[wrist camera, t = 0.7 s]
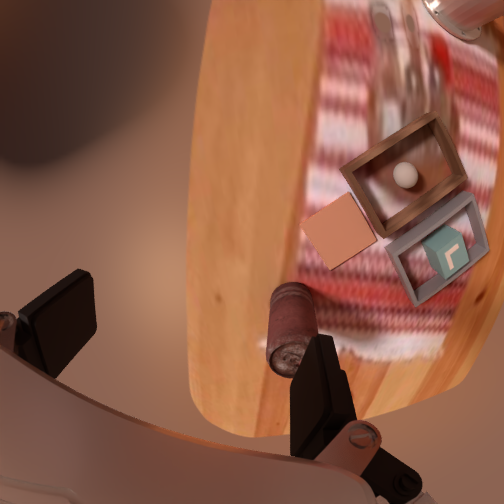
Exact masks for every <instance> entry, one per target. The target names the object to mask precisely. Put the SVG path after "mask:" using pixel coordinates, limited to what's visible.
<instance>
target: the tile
mask: <svg viewBox="0 0 504 504" xmlns="http://www.w3.org/2000/svg"><path fill="white" fill-rule="evenodd" d="M299 225H300V226H301V228H302V229H303V231H304V232H305V234H306V235H307V237H308V238H309V240H310V241H311V243H312V244H313V246H314V247H315V249H316V250H317V252H318V253H319V255H320V256H321V258H322V259H323V261H324V262H325V264H326V265H327V267H328V269H329V270H331V269H333V268H335V267H336V266H338V265H339V264H341V263H343V262H344V261H346V260H347V259H349V258H350V257H352V256H354V255H355V254H357V253H358V252H360V251H361V250H363V249H364V248H366V247H367V246H369V245H370V244H372V243H373V242H375V241H376V238H375V236H374V235H373V233H372V231H371V229H370V227H369V225H368V224H367V222H366V220H365V218H364V217H363V215H362V213H361V211H360V210H359V208H358V206H357V205H356V203H355V201H354V200H353V198H352V196H351V195H350V193H349V192H347V193H345V194H344V195H342V196H341V197H339V198H338V199H336V200H335V201H333V202H332V203H330V204H329V205H327V206H326V207H324V208H323V209H321V210H320V211H318V212H317V213H315V214H314V215H312V216H310V217H309V218H307V219H306V220H304V221H303V222H301V223H300V224H299Z"/></svg>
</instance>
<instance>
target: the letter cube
mask: <svg viewBox="0 0 504 504" xmlns="http://www.w3.org/2000/svg"><path fill="white" fill-rule="evenodd" d="M421 243H422V245H423V247H424V250H425V252H426V255H427V257H428V260H429V263H430V265H431V267H432V268H433V269H434V270H435V271H437V272H438V273H439V274H440V275H441V276H442V277H443V278H444V279H445V280H446V279H447V278H448V277H450V276H451V275H452V274H454V273H455V272H456V271H457V270H459V269H460V268H461V267H462V266H464V265H465V264H466V263H467V262H469V258H468V254H467V251H466V247H465V244H464V241H463V237H462V234H461V233H460V232H458V231H457V230H455V229H453V228H451V227H449V226H447V225H445V224H443V225H442V226H441V227H439V228H438V229H437V230H435V231H434V232H433V233H431V234H430V235H429V236H427V237H426V238H425V239H423V240H422V241H421Z"/></svg>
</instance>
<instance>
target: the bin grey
mask: <svg viewBox="0 0 504 504" xmlns="http://www.w3.org/2000/svg"><path fill="white" fill-rule="evenodd" d="M463 207H465V208H466V211H467V214H468V217H469V220H470V223H471V227H472V230H473V233H474V237H475V240H476V244H475V245H474V246H472V247H471V248H470V249H469V250H468V251H467V254H468V258H469V262H467V263H466V264H465V265H464V266H462V267H461V268H460V269H459V270H457V271H456V272H455V273H454V274H452V275H451V276H450V277H448V278H447V279H446V280H445V279H444V278H443V277H442V276H441V275H440V274H439V273H438V274H437V275H435V276H434V277H433V278H431V279H430V280H428V281H427V282H426V283H424V284H423V285H421V286H420V287H418V288H417V289H416V290H414V291H413V289H412V286H411V284H410V282H409V280H408V277H407V275H406V273H405V271H404V268H403V266H402V264H401V262H400V260H399V258H398V255H400V254H401V253H402V252H404V251H405V250H407V249H408V248H410V247H411V246H413V245H414V244H415V243H417V242H418V241H420V240H421V239H422V238H424V237H425V236H427V235H428V234H429V233H431V232H432V231H433V230H435V229H436V228H437V227H439V226H440V225H441V224H443V223H444V222H445V221H447V220H448V219H449V218H451V217H452V216H453V215H454V214H456V213H457V212H458V211H459V210H461V209H462V208H463ZM385 249H386V251H387V253H388V255H389V257H390V259H391V261H392V263H393V265H394V268H395V270H396V272H397V274H398V276H399V278H400V280H401V282H402V285H403V287H404V289H405V291H406V294H407V296H408V298H409V299H410V301H411V302H412V303H413V305H414V306H415V308H416V307H417V306H419V305H420V304H421V303H423V302H424V301H426V300H427V299H429V298H430V297H431V296H433V295H434V294H436V293H437V292H438V291H440V290H441V289H443V288H444V287H445V286H447V285H448V284H449V283H451V282H452V281H453V280H454V279H456V278H457V277H458V276H460V275H461V274H462V273H463V272H465V271H466V270H467V269H468V268H469V267H471V266H472V265H473V264H474V263H476V262H477V261H478V260H479V259H480V258H481V257H483V256H484V255H485V254H486V253H487V252H488V251H489V246H488V242H487V238H486V234H485V230H484V226H483V222H482V219H481V216H480V212H479V209H478V206H477V203H476V200H475V197H474V194H472V193H469V192H466V191H462V192H460V193H459V194H458V195H456V196H455V197H454V198H452V199H451V200H450V201H449V202H447V203H446V204H445V205H443V206H442V207H441V208H439V209H438V210H437V211H435V212H434V213H433V214H431V215H430V216H428V217H427V218H426V219H424V220H423V221H422V222H420V223H419V224H417V225H416V226H415V227H413V228H412V229H410V230H409V231H407V232H406V233H405V234H403V235H402V236H400V237H399V238H397V239H396V240H394V241H393V242H391V243H390V244H389V245H387V246H386V247H385Z"/></svg>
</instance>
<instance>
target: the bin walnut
mask: <svg viewBox="0 0 504 504" xmlns="http://www.w3.org/2000/svg"><path fill="white" fill-rule="evenodd" d="M427 123H428V125H429V127H430V128H431V130H432V132H433V134H434V136H435V138H436V140H437V142H438V144H439V146H440V148H441V150H442V152H443V154H444V156H445V158H446V161H447V163H448V165H449V167H450V170H451V172H452V174H451V175H450V176H449V177H447V178H446V179H445V180H443V181H442V182H441V183H439V184H438V185H436V186H435V187H434V188H432V189H431V190H430V191H428V192H427V193H425V194H424V195H423V196H421V197H420V198H418V199H417V200H416V201H414V202H413V203H411V204H410V205H408V206H407V207H406V208H404V209H403V210H401V211H400V212H398V213H397V214H395V215H394V216H393V217H391V218H390V219H388V220H387V221H385V222H384V223H382V224H381V222H380V220H379V218H378V216H377V214H376V213H375V211H374V209H373V207H372V205H371V204H370V202H369V200H368V198H367V197H366V195H365V193H364V192H363V190H362V188H361V187H360V185H359V183H358V182H357V180H356V178H355V177H354V175H353V173H352V172H353V171H354V170H356V169H357V168H359V167H360V166H362V165H363V164H365V163H366V162H368V161H369V160H371V159H373V158H374V157H376V156H377V155H379V154H380V153H382V152H383V151H385V150H386V149H388V148H389V147H391V146H393V145H394V144H396V143H397V142H399V141H400V140H402V139H403V138H405V137H406V136H408V135H410V134H411V133H413V132H414V131H416V130H417V129H419V128H420V127H422V126H424V125H425V124H427ZM339 170H340V171H341V173H342V174H343V176H344V178H345V179H346V181H347V182H348V184H349V186H350V187H351V189H352V190H353V192H354V194H355V195H356V197H357V199H358V200H359V202H360V204H361V206H362V207H363V209H364V211H365V212H366V214H367V216H368V218H369V220H370V221H371V223H372V225H373V227H374V229H375V230H376V232H377V233H378V234H379V235H380V236H381V237H382V238H383V239H385V238H386V237H388V236H389V235H391V234H392V233H393V232H395V231H396V230H398V229H399V228H401V227H402V226H404V225H405V224H406V223H408V222H409V221H411V220H412V219H414V218H415V217H416V216H418V215H419V214H421V213H422V212H423V211H425V210H426V209H428V208H429V207H430V206H432V205H433V204H434V203H436V202H437V201H438V200H440V199H441V198H442V197H444V196H445V195H446V194H448V193H449V192H450V191H452V190H453V189H454V188H456V187H457V186H458V185H460V184H461V183H462V182H463V181H465V180H466V179H467V178H468V177H467V175H466V172H465V170H464V167H463V165H462V163H461V160H460V158H459V156H458V153H457V151H456V149H455V147H454V145H453V142H452V140H451V138H450V136H449V134H448V132H447V130H446V128H445V126H444V124H443V122H442V121H441V119H440V117H439V115H438V113H437V111H435V112H430V113H426V114H424V115H423V116H421V117H419V118H418V119H416V120H415V121H413V122H411V123H410V124H408V125H407V126H405V127H403V128H402V129H400V130H399V131H397V132H396V133H394V134H392V135H391V136H389V137H388V138H386V139H385V140H383V141H381V142H380V143H378V144H377V145H375V146H374V147H372V148H371V149H369V150H367V151H366V152H364V153H363V154H361V155H360V156H358V157H357V158H355V159H354V160H352V161H350V162H349V163H347V164H346V165H344V166H343V167H341V168H340V169H339Z"/></svg>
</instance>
